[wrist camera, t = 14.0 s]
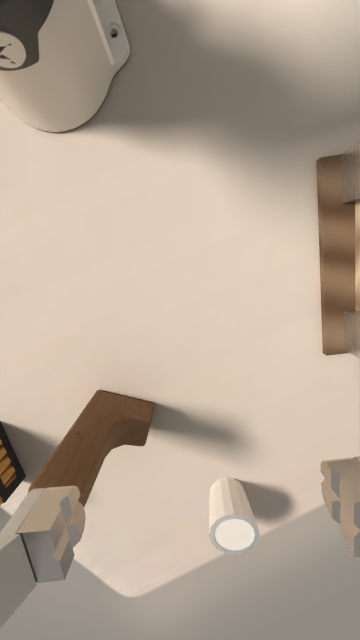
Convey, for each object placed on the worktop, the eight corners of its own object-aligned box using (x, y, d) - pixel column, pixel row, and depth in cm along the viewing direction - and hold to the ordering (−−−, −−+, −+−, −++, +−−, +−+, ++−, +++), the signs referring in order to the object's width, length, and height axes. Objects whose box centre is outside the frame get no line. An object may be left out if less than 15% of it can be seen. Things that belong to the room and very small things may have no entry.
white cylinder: (214, 469, 43) (220, 508, 36) (254, 482, 43) (267, 523, 36) (199, 502, 44) (202, 546, 37) (238, 514, 44) (247, 560, 38)
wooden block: (155, 402, 40) (130, 511, 23) (149, 428, 41) (120, 551, 24) (97, 388, 40) (26, 487, 23) (92, 414, 41) (20, 529, 24)
